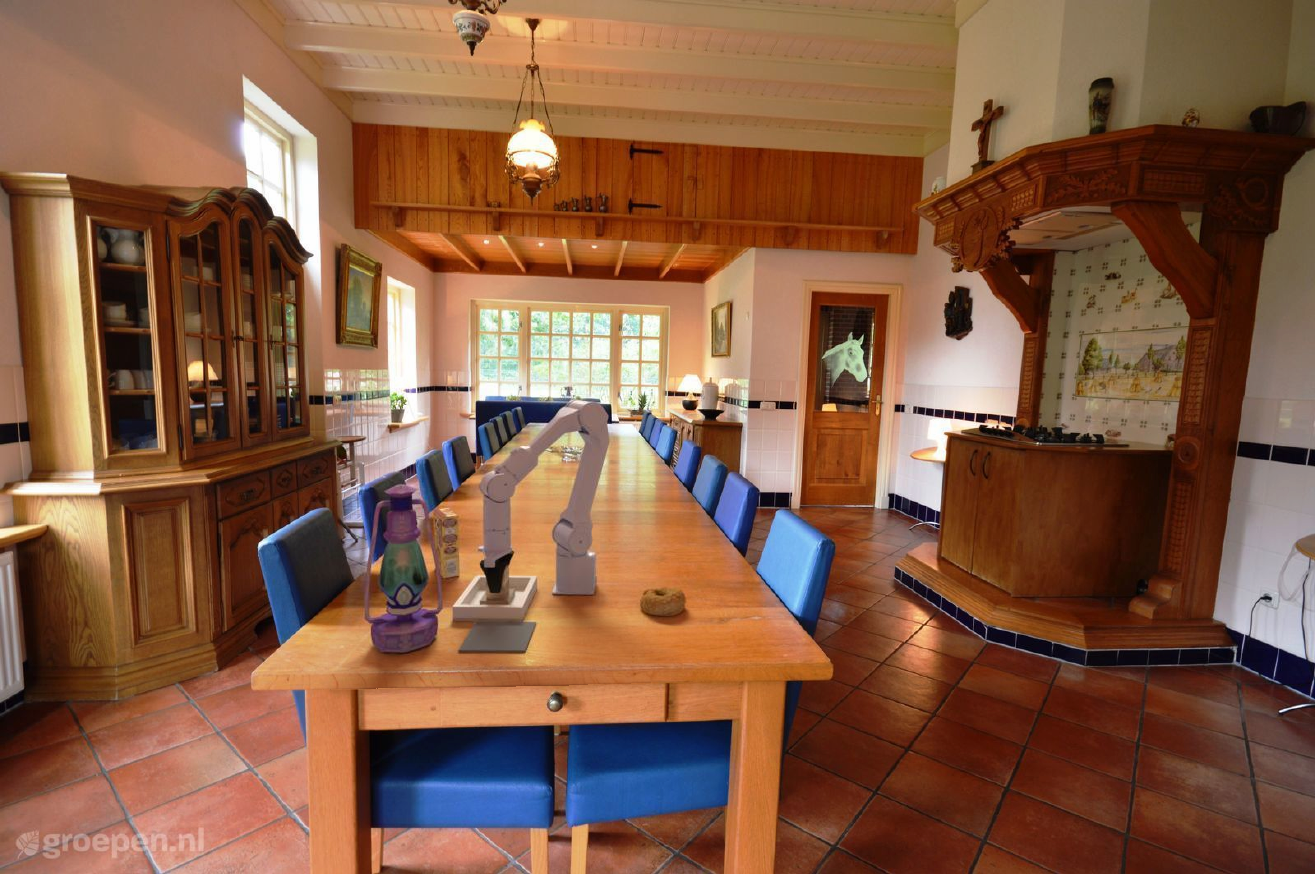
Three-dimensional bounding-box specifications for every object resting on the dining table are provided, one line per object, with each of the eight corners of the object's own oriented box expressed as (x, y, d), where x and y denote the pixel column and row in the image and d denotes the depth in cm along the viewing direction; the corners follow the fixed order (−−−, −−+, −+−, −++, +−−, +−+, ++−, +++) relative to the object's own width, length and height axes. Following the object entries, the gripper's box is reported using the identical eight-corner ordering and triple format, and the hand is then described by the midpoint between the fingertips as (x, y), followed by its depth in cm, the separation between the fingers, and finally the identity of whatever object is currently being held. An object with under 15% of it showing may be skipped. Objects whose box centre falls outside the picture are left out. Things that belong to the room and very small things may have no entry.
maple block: (509, 591, 132) (508, 565, 131) (505, 598, 128) (504, 571, 127) (490, 590, 132) (490, 564, 131) (486, 598, 128) (485, 571, 127)
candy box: (460, 576, 146) (459, 515, 144) (442, 579, 143) (441, 517, 142) (450, 565, 153) (449, 507, 151) (433, 568, 151) (432, 509, 149)
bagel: (678, 597, 136) (678, 577, 136) (691, 617, 126) (691, 596, 125) (635, 600, 134) (635, 580, 133) (645, 621, 123) (645, 599, 123)
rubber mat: (536, 623, 120) (536, 621, 120) (525, 652, 109) (525, 650, 108) (476, 623, 120) (476, 621, 120) (458, 651, 108) (458, 649, 108)
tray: (537, 588, 139) (537, 575, 139) (522, 621, 121) (522, 607, 121) (476, 587, 139) (476, 575, 138) (452, 620, 121) (452, 606, 120)
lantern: (364, 662, 104) (358, 493, 100) (367, 633, 114) (361, 480, 111) (445, 649, 109) (441, 488, 105) (440, 623, 120) (437, 476, 116)
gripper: (486, 518, 135) (487, 576, 137) (468, 537, 121) (469, 601, 122) (518, 518, 135) (518, 576, 137) (503, 537, 121) (504, 601, 122)
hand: (497, 588), depth 130 cm, fingers closed on maple block, 4 cm apart
